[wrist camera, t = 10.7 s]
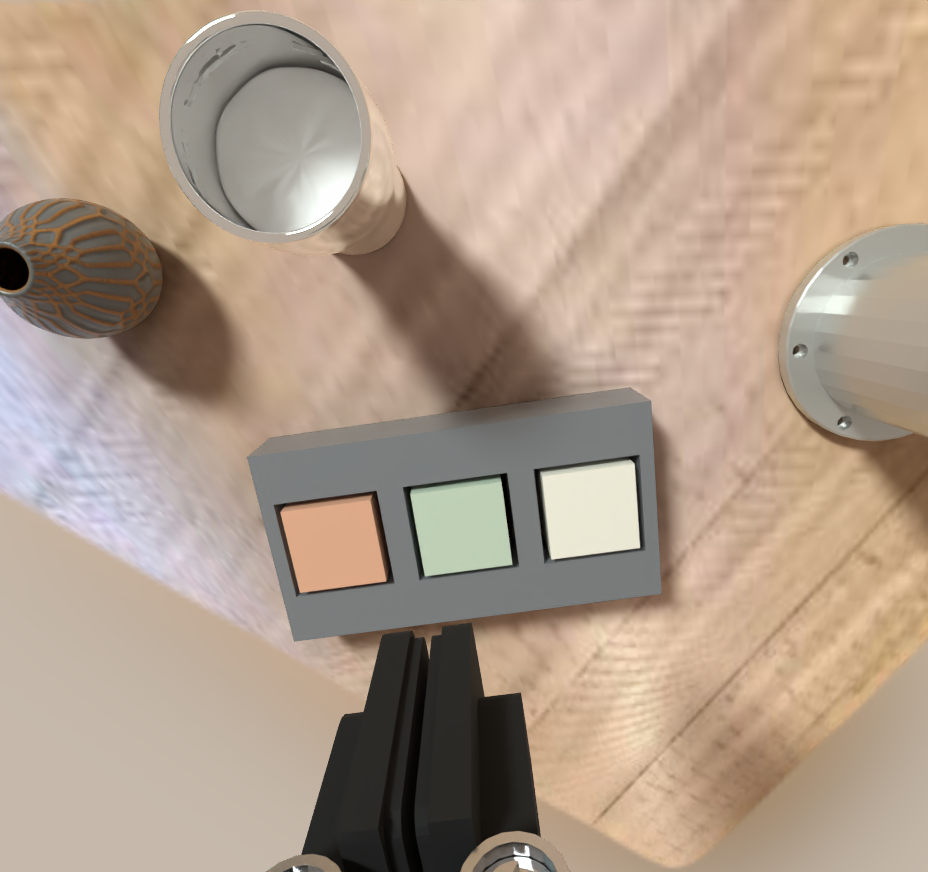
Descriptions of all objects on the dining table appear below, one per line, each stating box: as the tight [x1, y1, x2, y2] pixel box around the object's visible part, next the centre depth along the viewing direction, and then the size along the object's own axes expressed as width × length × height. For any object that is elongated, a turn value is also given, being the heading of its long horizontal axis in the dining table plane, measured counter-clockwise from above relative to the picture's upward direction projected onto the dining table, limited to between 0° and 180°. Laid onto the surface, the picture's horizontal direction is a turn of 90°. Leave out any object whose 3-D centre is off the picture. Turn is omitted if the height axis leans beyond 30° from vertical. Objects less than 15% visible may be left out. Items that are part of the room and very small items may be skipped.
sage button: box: [410, 474, 512, 576], centre depth 35 cm, size 5×5×4 cm
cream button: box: [535, 456, 640, 560], centre depth 35 cm, size 5×5×4 cm
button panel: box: [247, 388, 662, 641], centre depth 35 cm, size 23×12×4 cm, turn 98°
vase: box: [0, 198, 163, 339], centre depth 29 cm, size 7×7×9 cm
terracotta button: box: [280, 491, 391, 593], centre depth 35 cm, size 5×5×4 cm
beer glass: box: [159, 10, 406, 256], centre depth 25 cm, size 7×7×15 cm
